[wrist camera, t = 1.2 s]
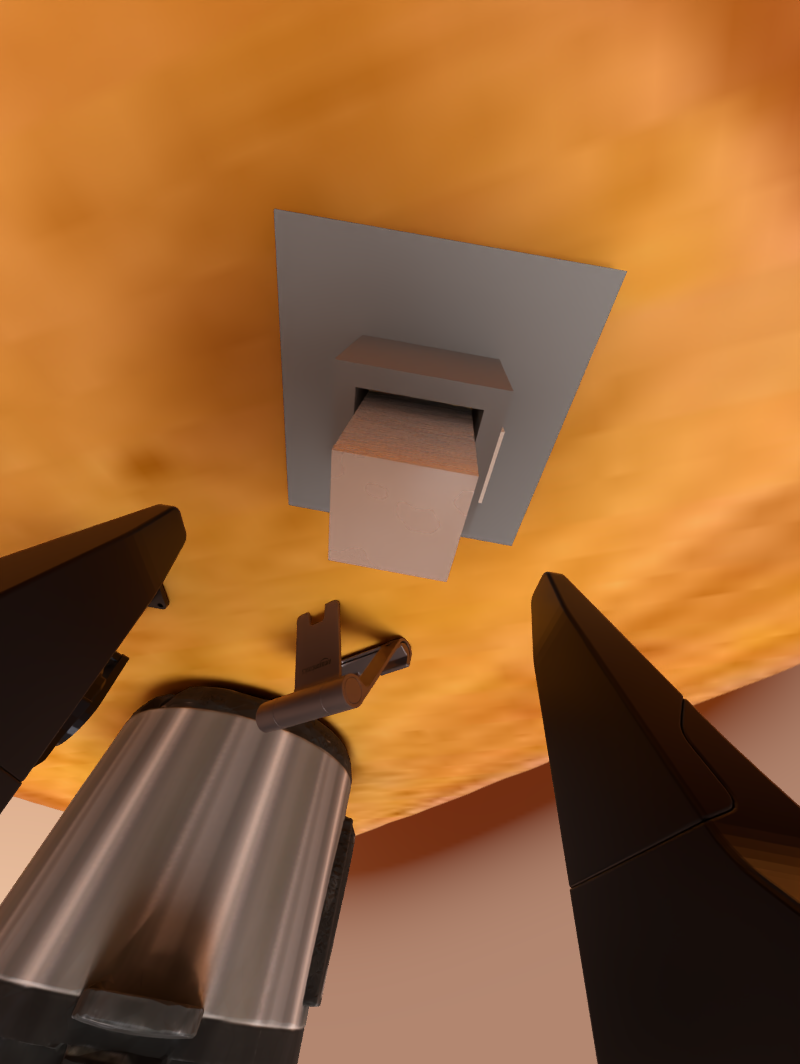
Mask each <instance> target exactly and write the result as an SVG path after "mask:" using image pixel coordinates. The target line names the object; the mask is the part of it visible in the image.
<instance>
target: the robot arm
mask: <svg viewBox="0 0 800 1064" xmlns="http://www.w3.org/2000/svg"><path fill="white" fill-rule="evenodd" d="M185 541H186V531H185V527H184V524H183V520H182V517H181V513H180V511H179V509H178V508H176V507H174V506H169V505H163V504H158V505H155V506H152V507H149V508H146V509H143V510H140V511H137V512H134V513H131V514H128V515H125V516H122V517H119V518H116V519H113V520H110V521H107V522H104V523H102V524H99V525H96V526H93V527H90V528H87V529H84V530H81V531H78V532H75V533H72V534H69V535H66V536H63V537H60V538H57V539H54V540H51V541H48V542H45V543H42V544H40V545H37V546H34V547H31V548H28V549H25V550H22V551H19V552H16V553H13V554H10V555H7V556H4V557H1V558H0V814H1V812H2V811H3V809H4V808H5V807H6V805H7V804H8V802H9V801H10V800H11V798H12V797H13V795H14V794H15V793H16V791H17V790H18V788H19V787H20V786H21V784H22V783H21V782H22V781H24V779H25V778H26V777H27V775H28V774H29V772H30V771H31V770H32V768H33V767H35V766H36V765H38V764H40V763H41V762H43V761H44V760H45V759H46V758H47V757H48V755H49V754H50V753H51V751H52V750H53V749H54V747H55V746H58V745H60V744H62V743H63V742H65V741H66V740H67V739H69V738H70V737H71V736H72V735H73V734H74V733H75V732H76V731H78V730H79V729H80V728H81V726H82V725H83V724H84V723H85V722H86V721H87V720H88V719H89V718H90V717H91V715H92V714H93V713H94V712H95V710H96V709H97V708H98V706H99V705H100V703H101V702H102V700H103V699H104V697H105V696H106V694H107V693H108V691H109V689H110V688H111V686H112V685H113V683H114V682H115V680H116V679H117V677H118V675H119V674H120V672H121V671H122V669H123V668H124V666H125V665H126V663H127V661H128V660H129V657H127V656H125V655H124V654H122V655H121V654H120V653H118V652H117V651H116V650H117V648H118V647H119V646H120V644H121V643H122V641H123V640H124V639H125V637H126V636H127V634H128V633H129V632H130V630H131V629H132V627H133V626H134V625H135V623H136V622H137V620H138V619H139V617H140V616H141V615H142V613H143V612H144V610H145V609H146V608H147V606H148V607H153V608H158V609H166V607H167V606H168V605H169V602H168V599H167V596H166V594H165V591H164V588H163V585H162V583H163V581H164V579H165V578H166V576H167V574H168V572H169V570H170V569H171V567H172V565H173V563H174V561H175V560H176V558H177V556H178V554H179V552H180V551H181V549H182V547H183V545H184V543H185ZM531 613H532V638H533V659H534V667H535V674H536V681H537V687H538V693H539V699H540V706H541V712H542V718H543V724H544V730H545V737H546V743H547V749H548V755H549V762H550V768H551V774H552V780H553V787H554V793H555V799H556V805H557V812H558V818H559V824H560V830H561V837H562V843H563V849H564V855H565V861H566V868H567V874H568V880H569V885H570V887H571V889H570V894H571V901H572V906H573V913H574V919H575V925H576V931H577V938H578V944H579V950H580V956H581V963H582V969H583V975H584V982H585V988H586V994H587V1000H588V1007H589V1013H590V1019H591V1025H592V1031H593V1038H594V1044H595V1050H596V1056H597V1062H598V1064H800V806H799V805H798V804H797V803H795V802H794V801H793V800H792V799H791V798H790V797H789V796H788V795H787V794H786V793H784V792H783V791H782V790H781V789H780V788H779V787H778V786H777V785H776V784H775V783H773V782H772V781H771V780H770V779H769V778H768V777H767V776H766V775H765V774H763V773H762V772H761V771H760V770H759V769H758V768H757V767H756V766H755V765H754V764H753V763H752V762H751V761H749V760H748V759H747V758H746V757H745V756H744V755H743V754H742V753H741V752H740V751H739V750H737V748H735V747H734V746H733V745H732V744H731V743H730V742H729V741H728V740H727V739H726V738H725V737H724V736H723V735H722V734H721V733H720V732H719V731H718V730H717V729H716V728H715V727H714V726H713V725H711V723H710V722H709V721H708V720H706V719H705V717H704V716H703V715H702V714H700V712H698V710H697V709H696V708H695V707H694V706H693V705H692V704H691V703H690V702H689V701H688V700H687V699H683V695H682V694H681V693H680V692H679V691H678V690H677V689H676V688H675V687H674V686H673V685H672V684H671V683H670V682H669V681H668V680H667V679H666V678H665V677H664V676H663V675H662V674H661V673H660V672H659V671H658V670H657V669H656V668H655V667H654V666H653V665H652V664H651V663H650V662H649V661H648V660H647V659H646V658H645V657H644V656H643V655H642V654H641V653H640V652H639V651H638V650H637V649H636V648H635V647H634V646H633V645H632V644H631V643H630V642H629V641H628V639H627V638H626V637H625V636H624V635H623V634H622V633H621V632H620V631H619V630H618V629H617V628H616V627H615V626H614V625H613V624H612V623H611V622H610V621H609V620H608V619H607V618H606V617H605V616H604V615H603V614H602V613H601V612H600V611H599V610H598V609H597V608H596V607H595V606H594V605H593V604H592V603H591V602H590V601H589V600H588V599H587V598H586V597H585V596H584V595H583V594H582V593H581V592H580V591H579V590H578V589H577V588H576V587H575V586H574V585H573V584H572V583H571V582H570V581H569V580H568V579H567V578H566V577H565V576H564V575H563V574H559V573H553V572H545V573H544V574H543V575H542V577H541V579H540V581H539V583H538V585H537V587H536V589H535V591H534V593H533V596H532V600H531Z"/></svg>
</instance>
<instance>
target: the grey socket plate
mask: <svg viewBox="0 0 800 1064" xmlns="http://www.w3.org/2000/svg"><path fill="white" fill-rule="evenodd" d="M274 222H275V242H276V261H277V281H278V301H279V321H280V341H281V361H282V380H283V400H284V420H285V440H286V460H287V480H288V500H289V505H292V506H298V507H303V508H309V509H314V510H319V511H325V512H330V489H331V456H332V448H333V447H334V445H335V444H336V442H337V441H338V439H339V437H340V436H341V434H342V433H343V431H344V429H345V428H346V426H347V425H348V423H349V422H350V420H351V418H352V417H353V415H354V414H355V412H356V410H357V409H358V407H359V406H360V404H361V403H362V401H363V399H364V398H365V396H366V395H367V393H368V392H369V389H370V390H376V391H381V392H387V393H392V394H398V395H403V396H409V397H414V398H420V399H425V400H431V401H436V402H442V403H447V404H453V405H458V406H464V407H469V408H472V409H471V411H472V420H473V429H474V438H475V447H476V456H477V465H478V474H479V477H478V481H477V484H476V487H475V490H474V494H473V497H472V500H471V504H470V507H469V510H468V513H467V517H466V520H465V523H464V526H463V530H462V533H461V536H460V537H466V538H471V539H477V540H482V541H488V542H493V543H498V544H504V545H509V546H512V544H513V541H514V539H515V536H516V534H517V532H518V529H519V527H520V525H521V522H522V520H523V517H524V515H525V513H526V510H527V508H528V506H529V503H530V501H531V498H532V496H533V494H534V491H535V489H536V487H537V484H538V482H539V479H540V477H541V475H542V472H543V470H544V468H545V465H546V463H547V460H548V458H549V456H550V453H551V451H552V449H553V446H554V444H555V441H556V439H557V437H558V434H559V432H560V430H561V427H562V425H563V422H564V420H565V418H566V415H567V413H568V411H569V408H570V406H571V403H572V401H573V399H574V396H575V394H576V392H577V389H578V387H579V384H580V382H581V380H582V377H583V375H584V373H585V370H586V368H587V365H588V363H589V361H590V358H591V356H592V354H593V351H594V349H595V346H596V344H597V342H598V339H599V337H600V335H601V332H602V330H603V327H604V325H605V323H606V320H607V318H608V316H609V313H610V311H611V308H612V306H613V304H614V301H615V299H616V297H617V294H618V292H619V289H620V287H621V285H622V282H623V280H624V278H625V275H626V273H627V271H623V270H617V269H611V268H606V267H600V266H594V265H589V264H583V263H577V262H572V261H566V260H561V259H555V258H549V257H544V256H538V255H532V254H527V253H521V252H515V251H510V250H504V249H498V248H493V247H487V246H482V245H476V244H470V243H465V242H459V241H453V240H448V239H442V238H436V237H431V236H425V235H419V234H414V233H408V232H403V231H397V230H391V229H386V228H380V227H374V226H369V225H363V224H357V223H352V222H346V221H340V220H335V219H329V218H324V217H318V216H312V215H307V214H301V213H295V212H290V211H284V210H278V209H274Z"/></svg>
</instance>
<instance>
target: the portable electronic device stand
mask: <svg viewBox="0 0 800 1064" xmlns="http://www.w3.org/2000/svg"><path fill="white" fill-rule="evenodd" d="M339 605H340V604H339V602H338V601H336V600H334V601H331V602H329V603H327V604H325V614H324V619H323V620H322V621H321V622H318V623H316V624H314V625H312V624H311V616H310V613H306V614H304V615H301V616H300V617H299V618H298V620H297V642H296V669H295V690H294V693H291V694H288V695H285V696H282V697H279V698H276V699H273V700H270V701H267V702H265V703H263V704H261V705H260V706H259V708H258V710H257V712H256V724H257V726H258V728H259V729H260V730H261V731H262V732H264V733H270V732H273V731H277V730H280V729H284V728H287V727H291V726H294V725H298V724H301V723H305V722H308V721H312V720H315V719H319V718H322V717H326V716H329V715H333V714H337V713H340V712H344V711H347V710H351V709H354V708H357V707H359V706H360V705H361V704H362V702H363V700H364V699H365V697H366V696H367V694H368V693H369V691H370V690H371V688H372V687H373V685H374V684H375V682H376V680H377V679H378V677H379V676H380V675H384V674H388V673H391V672H394V671H397V670H400V669H403V668H406V667H409V665H410V661H411V656H412V651H411V647H410V645H409V643H408V641H407V640H406V639H404V638H400V639H397V640H392V641H389V642H387V643H386V644H384V645H381V646H378V647H376V648H373V649H370V650H367V651H365V652H362V653H359V654H356V655H354V656H351V657H348V658H346V659H343V660H341V634H340V607H339Z"/></svg>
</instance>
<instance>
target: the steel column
mask: <svg viewBox="0 0 800 1064" xmlns="http://www.w3.org/2000/svg"><path fill="white" fill-rule="evenodd" d="M471 409H472V408H469V407H464V406H458V405H453V404H447V403H442V402H436V401H431V400H425V399H420V398H414V397H409V396H403V395H398V394H392V393H387V392H381V391H376V390H370V389H369V392H368V393H367V395H366V396H365V398H364V399H363V401H362V403H361V404H360V406H359V407H358V409H357V410H356V412H355V414H354V415H353V417H352V418H351V420H350V422H349V423H348V425H347V426H346V428H345V429H344V431H343V433H342V434H341V436H340V437H339V439H338V441H337V442H336V444H335V445H334V447H333V448H332V456H331V489H330V522H329V554H328V560H331V561H337V562H342V563H347V564H353V565H358V566H364V567H369V568H374V569H380V570H385V571H390V572H396V573H401V574H407V575H412V576H417V577H423V578H428V579H434V580H439V581H444V582H447V579H448V575H449V572H450V569H451V566H452V562H453V559H454V556H455V553H456V549H457V546H458V543H459V539H460V536H461V533H462V530H463V526H464V523H465V520H466V517H467V513H468V510H469V507H470V504H471V500H472V497H473V494H474V490H475V487H476V484H477V481H478V477H479V474H478V465H477V456H476V447H475V438H474V429H473V420H472V411H471Z"/></svg>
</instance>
